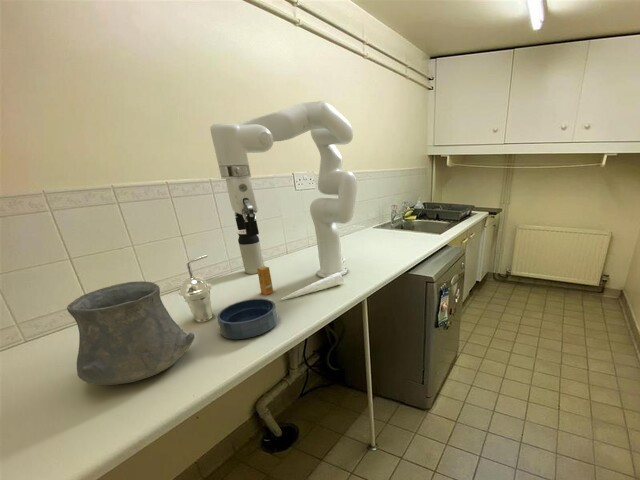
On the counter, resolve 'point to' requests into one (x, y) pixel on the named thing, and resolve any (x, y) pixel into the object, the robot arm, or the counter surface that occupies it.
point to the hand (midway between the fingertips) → (248, 232)
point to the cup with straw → (197, 295)
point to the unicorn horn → (318, 285)
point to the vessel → (125, 334)
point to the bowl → (247, 318)
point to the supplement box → (265, 280)
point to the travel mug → (250, 252)
